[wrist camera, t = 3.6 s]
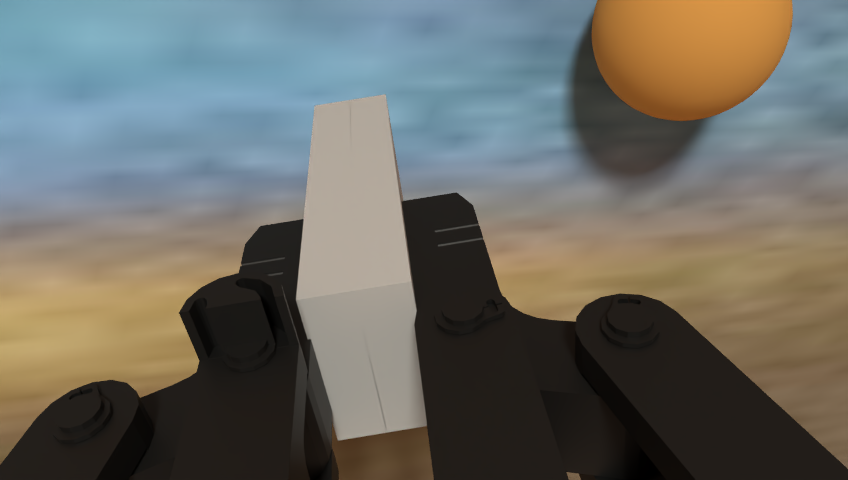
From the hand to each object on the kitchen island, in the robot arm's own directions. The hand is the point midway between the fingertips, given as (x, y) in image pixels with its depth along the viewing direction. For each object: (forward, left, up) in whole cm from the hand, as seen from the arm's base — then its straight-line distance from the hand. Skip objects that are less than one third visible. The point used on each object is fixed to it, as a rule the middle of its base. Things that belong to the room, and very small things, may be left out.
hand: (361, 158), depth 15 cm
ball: (-10, 0, -6) cm, 11 cm away
